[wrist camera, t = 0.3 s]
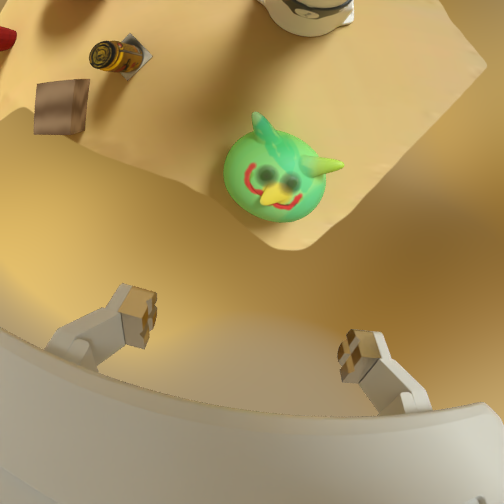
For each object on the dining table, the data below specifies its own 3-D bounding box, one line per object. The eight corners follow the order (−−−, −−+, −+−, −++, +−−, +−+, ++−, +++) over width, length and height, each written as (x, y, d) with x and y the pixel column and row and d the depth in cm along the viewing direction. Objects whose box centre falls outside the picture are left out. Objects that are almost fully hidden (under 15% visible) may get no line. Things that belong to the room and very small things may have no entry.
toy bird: (216, 181, 56) (200, 208, 43) (252, 106, 48) (248, 108, 35) (294, 218, 59) (301, 254, 47) (335, 150, 51) (357, 167, 39)
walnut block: (53, 82, 44) (37, 83, 39) (90, 79, 44) (75, 79, 39) (49, 129, 50) (33, 134, 45) (85, 130, 50) (70, 135, 45)
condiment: (127, 81, 45) (97, 80, 35) (106, 57, 42) (74, 53, 32) (153, 56, 43) (126, 48, 32) (130, 33, 40) (101, 22, 29)
